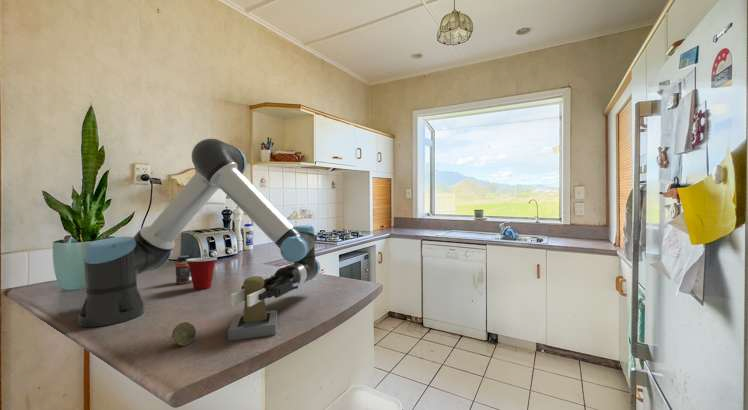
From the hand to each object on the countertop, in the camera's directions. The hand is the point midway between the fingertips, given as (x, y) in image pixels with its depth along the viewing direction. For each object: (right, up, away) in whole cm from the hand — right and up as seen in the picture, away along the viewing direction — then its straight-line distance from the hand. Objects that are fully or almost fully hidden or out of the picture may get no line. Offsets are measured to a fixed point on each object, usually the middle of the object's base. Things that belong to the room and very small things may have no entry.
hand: (240, 300), depth 76 cm
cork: (+2, -7, +5) cm, 9 cm away
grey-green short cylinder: (-13, -10, -2) cm, 16 cm away
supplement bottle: (-48, -10, +55) cm, 73 cm away
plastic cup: (-35, -9, +46) cm, 59 cm away
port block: (+2, -9, +5) cm, 11 cm away
